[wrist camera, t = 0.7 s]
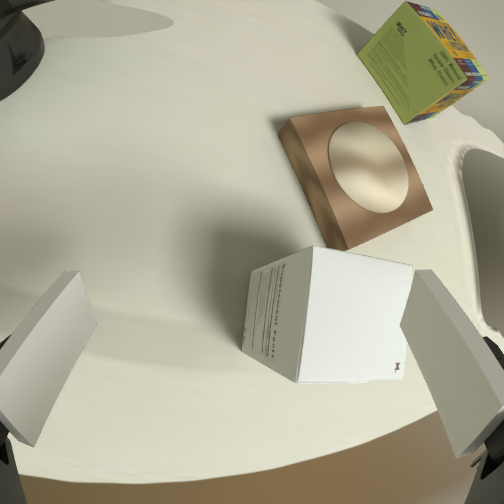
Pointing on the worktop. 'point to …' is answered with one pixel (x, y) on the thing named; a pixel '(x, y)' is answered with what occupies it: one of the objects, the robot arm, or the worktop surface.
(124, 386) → the worktop surface
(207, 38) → the worktop surface
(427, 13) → the protein box
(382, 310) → the supplement box
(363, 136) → the pedestal
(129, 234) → the worktop surface
